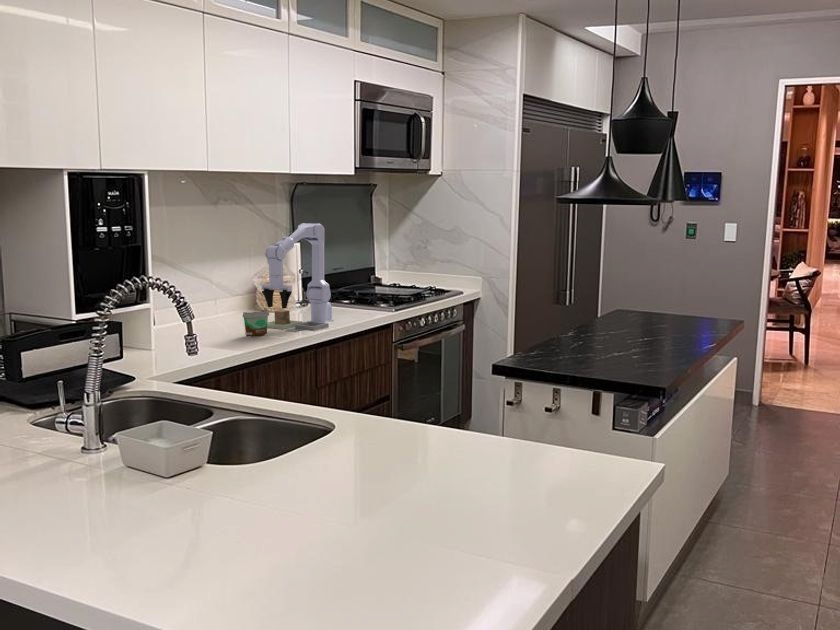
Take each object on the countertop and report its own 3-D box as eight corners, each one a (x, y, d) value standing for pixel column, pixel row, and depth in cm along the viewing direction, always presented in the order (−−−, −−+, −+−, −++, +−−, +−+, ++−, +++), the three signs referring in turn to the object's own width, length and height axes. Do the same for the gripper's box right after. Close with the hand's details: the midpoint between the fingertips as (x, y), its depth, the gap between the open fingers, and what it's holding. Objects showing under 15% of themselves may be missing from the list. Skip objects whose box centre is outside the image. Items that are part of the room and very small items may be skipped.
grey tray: (309, 326, 359) (309, 321, 359) (328, 327, 354) (328, 323, 354) (295, 329, 351) (295, 324, 351) (314, 331, 346) (313, 326, 346)
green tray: (280, 323, 366) (280, 319, 365) (302, 326, 360) (302, 321, 359) (262, 327, 355) (262, 323, 355) (284, 330, 349) (284, 325, 349)
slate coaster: (293, 329, 350) (293, 328, 350) (304, 331, 347) (304, 329, 347) (284, 332, 345) (284, 330, 345) (295, 333, 342) (295, 331, 342)
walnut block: (281, 324, 361) (281, 309, 360) (289, 325, 358) (289, 310, 357) (274, 326, 357) (274, 311, 356) (283, 327, 354) (282, 311, 353)
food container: (253, 338, 331) (252, 313, 330) (243, 336, 335) (242, 312, 334) (276, 333, 341) (275, 309, 340) (266, 332, 345) (265, 308, 343)
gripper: (256, 275, 343) (257, 307, 345) (283, 276, 335) (284, 310, 337) (267, 273, 349) (268, 305, 351) (294, 275, 341) (295, 307, 343)
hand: (277, 307), depth 344 cm, fingers open, 7 cm apart
